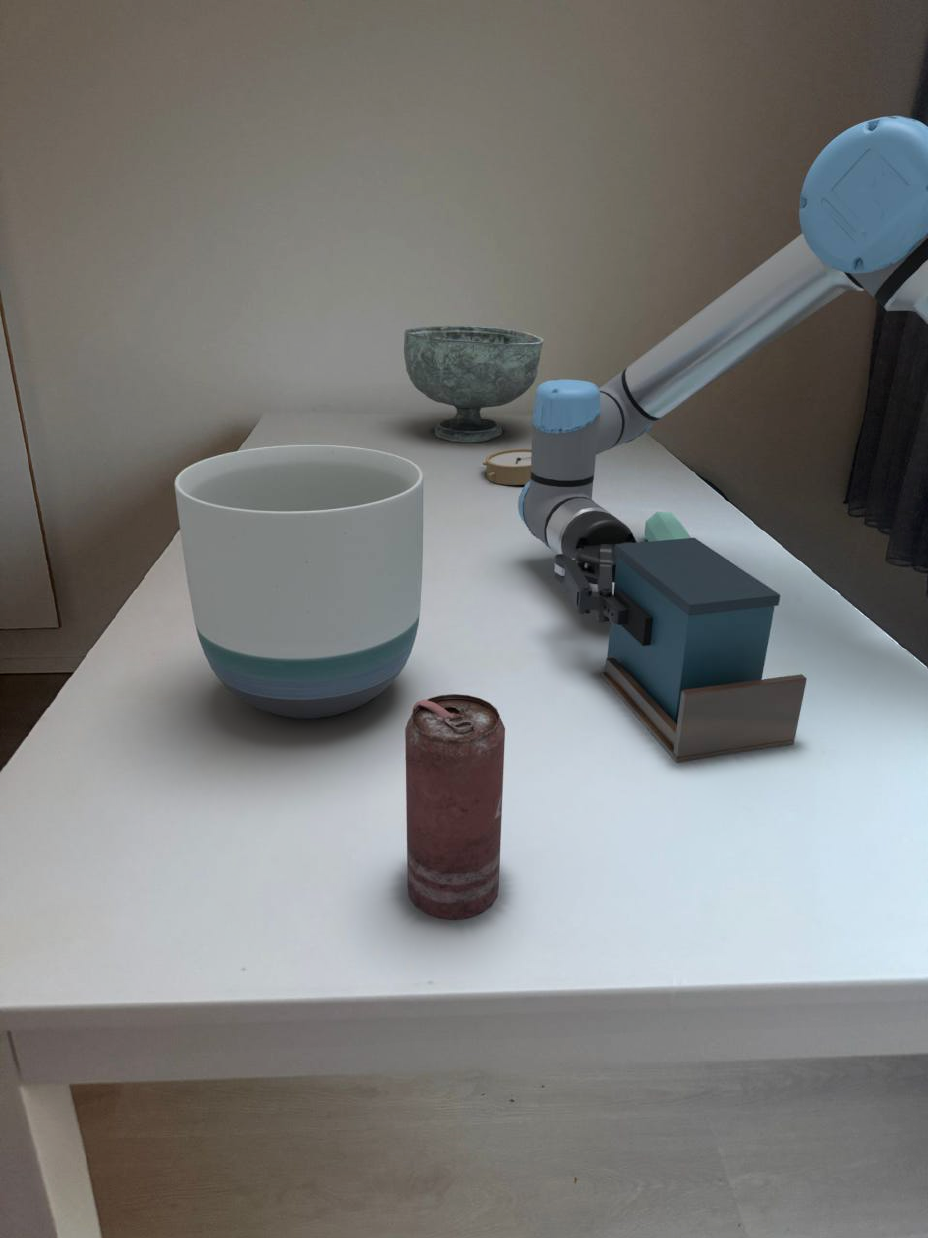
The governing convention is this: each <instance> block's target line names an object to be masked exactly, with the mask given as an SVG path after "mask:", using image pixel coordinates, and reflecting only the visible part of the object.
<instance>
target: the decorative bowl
mask: <svg viewBox="0 0 928 1238" xmlns="http://www.w3.org/2000/svg"><path fill="white" fill-rule="evenodd" d="M403 333H404V335H403V337H404V344H403V356H404V357H403V358H404V363H405V368H406V373H407V376H408V377H409V379H410V381H411V383H412V385H413V386H414V388H416V389H417V390H418V391H419V392H421V393H422V394H423V395H425V396H426V397H427V398H428V399H430V400H432V401H434V402H436V403H440V404H445V405H448V406H453V407H455V409H456V414H455V416H453V418H449V419H445V420H443V421H441V422H440V423H439V424H437V425H436V426H435V428H434V435H435V436H436V437H437V438H439V439H442V440H446V441H450V442H458V443H480V442H482V443H483V442H487V441H489V440H492V439H495V438H497V437H499V436H501V435H502V427H501V426H500V424H499V423H498V422H497V421H496V420H494V419H491V418H483V417H482V416H481V410H482V409H485V408H494V407H501V406H504V405H508V404H510V403H512V402H513V401H515V400H517V399H519V398H520V397H521V396H522V395H524V394H525V393H526V392H527V391H528V390H529V389H530V387H531V386H532V385H533V384H534V383H535V382H536V379H537V376H538V372H539V371H538V368H539V365H540V360H541V354H542V348H543V344H544V338H542V337H540V336H538V335H535V334H533V333H530V332H526V331H519V330H514V329H509V328H501V327H489V326H472V325H436V326H435V325H433V326H431V325H430V326H419V327H410V328H406V329H405V330H404V332H403Z"/></svg>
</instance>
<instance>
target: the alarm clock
mask: <svg viewBox="0 0 928 1238" xmlns="http://www.w3.org/2000/svg"><path fill="white" fill-rule="evenodd" d="M531 454H532V448H512V449H504V450H500V451H495V452H493V453H490V454H489V455H487V456H486V457H485V461H483V462H482V465H483V466H486V479H487V480H489V482H492V483H495V484H500V485H506V486H522V485H523V486H525V485H526V484H527V483H528V482H529V481H530V476H531Z"/></svg>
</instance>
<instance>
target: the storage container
mask: <svg viewBox="0 0 928 1238" xmlns="http://www.w3.org/2000/svg"><path fill="white" fill-rule="evenodd" d="M614 555H616V556H617V560H616V571H615V581H614V583H613V591H612V595H613V596H614V592H615V590H623V591H624V592H625V593H626V594H627V595H628V596H630V597H631V598H632V599H633V600H634V601H635V602H636V603H637V604H638V605H640V606H641V607H642V608H643V609H644V610H645V611H646V612H647V613H649V614H650V615H651V616H652V617H653V626H652V634H651V643H650V645H648V646H642V645H641V644H640V643H639V642H638V641H637V640H636V639H635V638H634V637H633V636H632V635H631V634H630V633H629V632H628V631H627V630H626V629H625V628H623V627H622V626H621V625H617V624H615V623H613V622H612V621H611V620H610V625H609V635H608V636H609V637H608V644H607V645H608V647H607V656H606V657H607V658H612V657H614V658H615V659H616V660H617V661H618V662H619V663H620V664H621V665H622V667H623V668H624V669H625V670H626V671H627V672H628V673H629V674H630V675H631V676H632V677H633V678H634V679H635V680H636V681H637V682H638V684H639V685H640V686H641V687H642V688H643V689H644V690H645V691H646V692H647V693H648V694H649V695H650V696H651V697H652V698H653V699H654V701H655V702H656V703H657V704H658V705H659V706H660V707H661V708H662V709H663V710H664V711H665V712H666V713H667V714H668V715H669V717H670V718H671V719H672V720H673V721H674V722H675V723H676V724H677V721H678V713H679V706H680V699H681V691H682V690H688V689H695V688H703V687H710V686H718V685H725V684H732V683H740V682H747V681H755V680H762V679H763V674H764V668H765V663H766V657H767V652H768V646H769V641H770V634H771V629H772V624H773V618H774V612H775V607H779V605H780V601H781V594H780V593H779V592H777V591H775V590H774V589H772V588H771V587H769V586H767V585H766V584H765V583H763V582H762V581H761V580H758V579H757V578H756V577H754V576H753V575H751V574H750V573H748V572H746V570H744V569H742V568H741V567H739V566H738V565H736V564H735V563H733V562H732V561H730V560H729V559H727V558H726V557H724V556H723V555H721V554H719V553H718V552H717V551H715V550H714V549H712V548H711V547H710V546H709V545H708V546H707V545H706V544H705V543H703V542H702V541H700V540H699V539H698V538H695V537H691V538H684V539H673V540H661V541H650V542H648V541H640V542H637V543H627V544H616V545H615V549H614ZM607 658H606V659H607Z"/></svg>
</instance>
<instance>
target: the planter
mask: <svg viewBox="0 0 928 1238" xmlns="http://www.w3.org/2000/svg"><path fill="white" fill-rule="evenodd" d="M174 491H175V492H174V493H175V500H176V508H177V515H178V516H177V517H178V523H179V531H180V538H181V539H180V541H181V547H182V553H183V561H184V567H185V575H186V581H187V587H188V593H189V598H190V604H191V609H192V615H193V622H194V625H195V629H196V633H197V637H198V640H199V643H200V646H201V649H202V651H203V654H204V656H205V658H206V659H207V662H208V665H209V667H210V668H211V670H212V672H213V673H214V674H215V676H216V677H217V679H218V680H219V681H220V682H221V683H222V684H223V685H224V687H225V688H226V689H228V690H229V691H230V692H231V693H233V694H234V695H235V696H237V697H238V698H239V699H240V700H242V701H244V702H245V703H247V704H249V705H250V706H253V707H255V708H258V709H260V710H262V711H265V712H267V713H270V714H273V715H277V716H279V717H286V718H292V719H321V718H328V717H332V716H337V715H341V714H344V713H347V712H350V711H352V710H354V709H357V708H359V707H362V706H363V705H365V704H366V703H368V702H370V701H371V700H372V699H374V698H376V697H377V696H378V695H380V694H381V693H382V692H384V691H385V690H386V689H387V688H388V687H389V686H390V685H392V683H393V682H394V681H395V680H396V679H397V678H398V677H399V675H400V674H401V672H402V671H403V669H404V668H405V666H406V665H407V662H408V660H409V658H410V656H411V654H412V651H413V647H414V644H415V641H416V637H417V634H418V630H419V626H420V625H419V624H420V614H421V606H422V605H421V603H422V587H423V586H422V585H423V567H424V566H423V563H424V562H423V560H424V473H423V471H422V469H421V468H420V467H419V465H417V464H416V463H414V462H413V461H411V460H409V459H407V458H404V457H402V456H400V455H396V454H393V453H390V452H387V451H386V452H385V451H382V450H378V449H377V450H376V449H371V448H364V447H358V446H357V447H356V446H349V445H331V444H289V445H288V444H287V445H275V446H264V447H256V448H249V449H243V450H236V451H231V452H226V453H222V454H219V455H215V456H212V457H208V458H205V459H201V460H200V461H197V462H195V463H192V464H191V465H189V466H187V467H186V468H184V469H183V470H181V472H179V473H178V475H177V476H176V477H175V480H174Z"/></svg>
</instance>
